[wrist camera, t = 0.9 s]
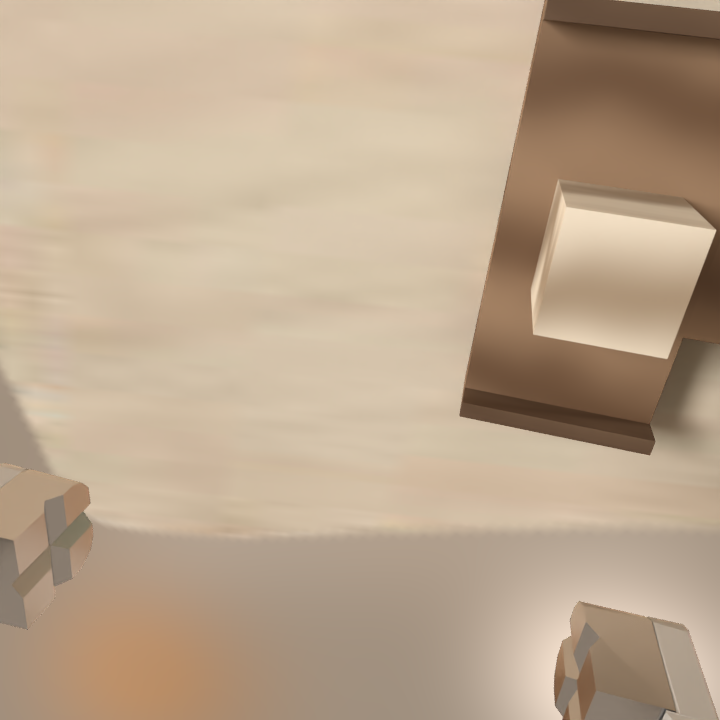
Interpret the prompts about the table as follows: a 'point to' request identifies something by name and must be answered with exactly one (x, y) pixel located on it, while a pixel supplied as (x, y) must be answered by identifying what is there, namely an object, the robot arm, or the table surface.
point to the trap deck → (607, 168)
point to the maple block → (617, 267)
